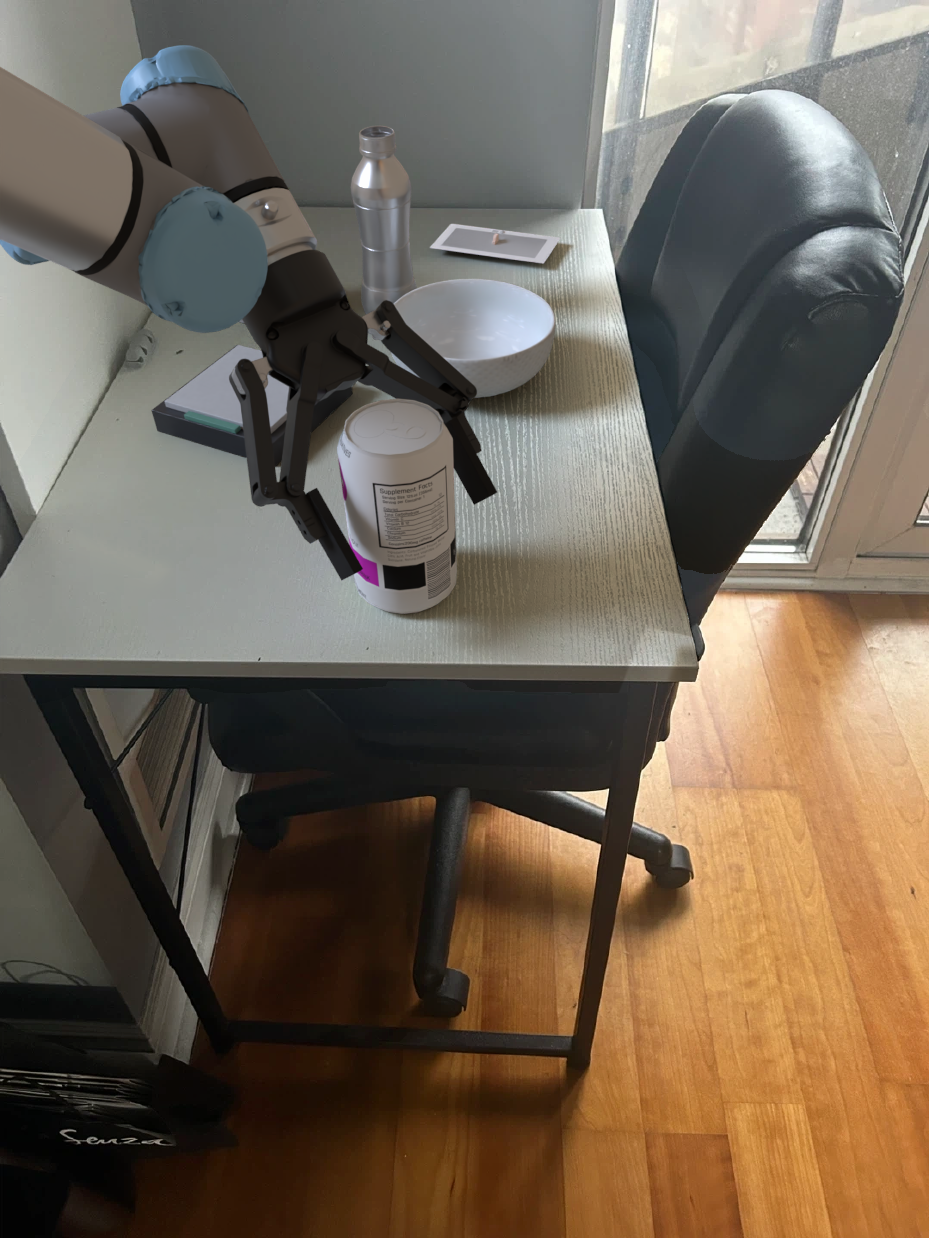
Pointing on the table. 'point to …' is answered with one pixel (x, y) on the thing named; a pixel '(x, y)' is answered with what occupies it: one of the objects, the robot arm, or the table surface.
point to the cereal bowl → (482, 330)
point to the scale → (230, 407)
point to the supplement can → (400, 503)
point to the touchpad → (496, 243)
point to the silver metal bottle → (382, 218)
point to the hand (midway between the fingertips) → (422, 535)
